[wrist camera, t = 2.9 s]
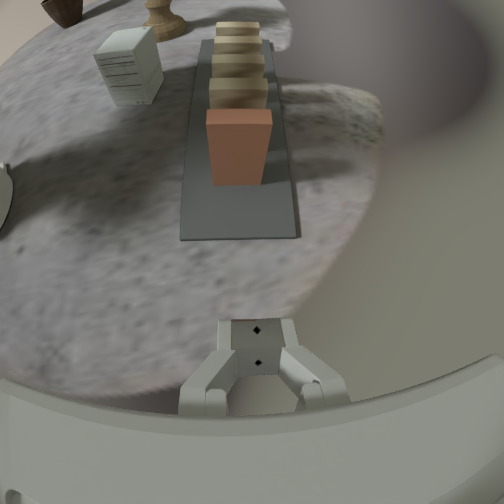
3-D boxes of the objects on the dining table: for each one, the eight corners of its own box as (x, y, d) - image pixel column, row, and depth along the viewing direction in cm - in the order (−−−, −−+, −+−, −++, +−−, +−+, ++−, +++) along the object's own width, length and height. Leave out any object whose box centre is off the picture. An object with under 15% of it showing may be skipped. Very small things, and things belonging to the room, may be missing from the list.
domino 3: (215, 127, 36) (211, 63, 25) (215, 117, 37) (212, 54, 25) (256, 126, 37) (264, 63, 25) (255, 117, 37) (263, 54, 26)
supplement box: (130, 80, 40) (114, 30, 28) (165, 79, 40) (154, 24, 28) (114, 107, 38) (91, 54, 26) (151, 106, 38) (133, 48, 26)
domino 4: (214, 154, 35) (208, 89, 24) (214, 142, 36) (209, 78, 24) (258, 153, 36) (268, 89, 24) (257, 142, 36) (267, 78, 24)
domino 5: (213, 185, 34) (206, 124, 22) (213, 172, 34) (207, 109, 23) (260, 185, 34) (272, 124, 23) (259, 172, 35) (270, 109, 23)
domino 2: (216, 104, 38) (214, 43, 26) (216, 96, 38) (214, 36, 27) (255, 103, 38) (262, 43, 26) (254, 95, 39) (261, 36, 27)
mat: (180, 241, 33) (179, 239, 32) (202, 42, 44) (202, 39, 43) (294, 238, 34) (296, 236, 33) (268, 42, 45) (269, 39, 44)
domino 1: (217, 84, 39) (216, 27, 27) (218, 78, 39) (216, 22, 28) (253, 84, 39) (259, 27, 28) (253, 78, 40) (258, 22, 28)
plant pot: (48, 40, 46) (34, 9, 31) (59, 24, 50) (48, -5, 34) (86, 22, 48) (75, -13, 33) (94, 8, 52) (85, -23, 36)
